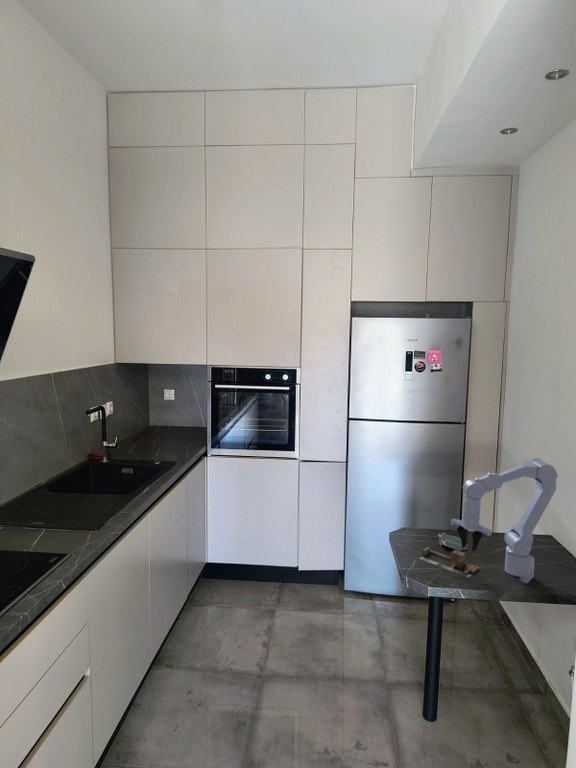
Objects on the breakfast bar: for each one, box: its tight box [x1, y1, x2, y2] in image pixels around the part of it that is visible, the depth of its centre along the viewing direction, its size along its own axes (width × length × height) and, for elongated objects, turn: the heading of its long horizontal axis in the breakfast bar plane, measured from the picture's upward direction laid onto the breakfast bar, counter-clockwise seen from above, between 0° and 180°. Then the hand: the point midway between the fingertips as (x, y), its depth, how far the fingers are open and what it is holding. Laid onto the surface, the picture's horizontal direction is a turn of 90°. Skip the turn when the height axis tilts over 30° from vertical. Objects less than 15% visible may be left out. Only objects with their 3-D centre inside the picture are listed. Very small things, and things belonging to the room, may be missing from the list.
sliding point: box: [450, 549, 466, 570], centre depth 181 cm, size 4×6×5 cm, turn 136°
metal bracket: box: [437, 532, 468, 552], centre depth 201 cm, size 14×6×15 cm
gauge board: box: [418, 546, 480, 578], centre depth 184 cm, size 22×10×4 cm, turn 46°
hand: (469, 548), depth 179 cm, fingers open, 3 cm apart
